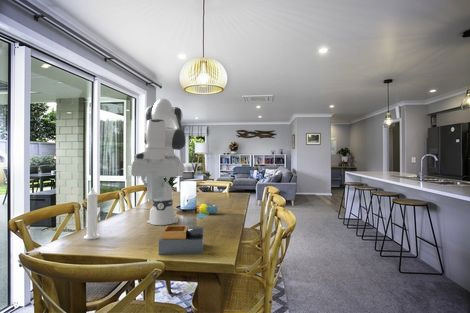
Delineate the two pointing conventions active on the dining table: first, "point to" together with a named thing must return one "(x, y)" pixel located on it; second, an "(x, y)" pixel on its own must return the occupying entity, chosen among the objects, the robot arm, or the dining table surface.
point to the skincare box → (155, 186)
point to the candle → (91, 216)
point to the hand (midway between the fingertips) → (155, 186)
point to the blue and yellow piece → (206, 209)
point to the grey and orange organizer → (181, 240)
